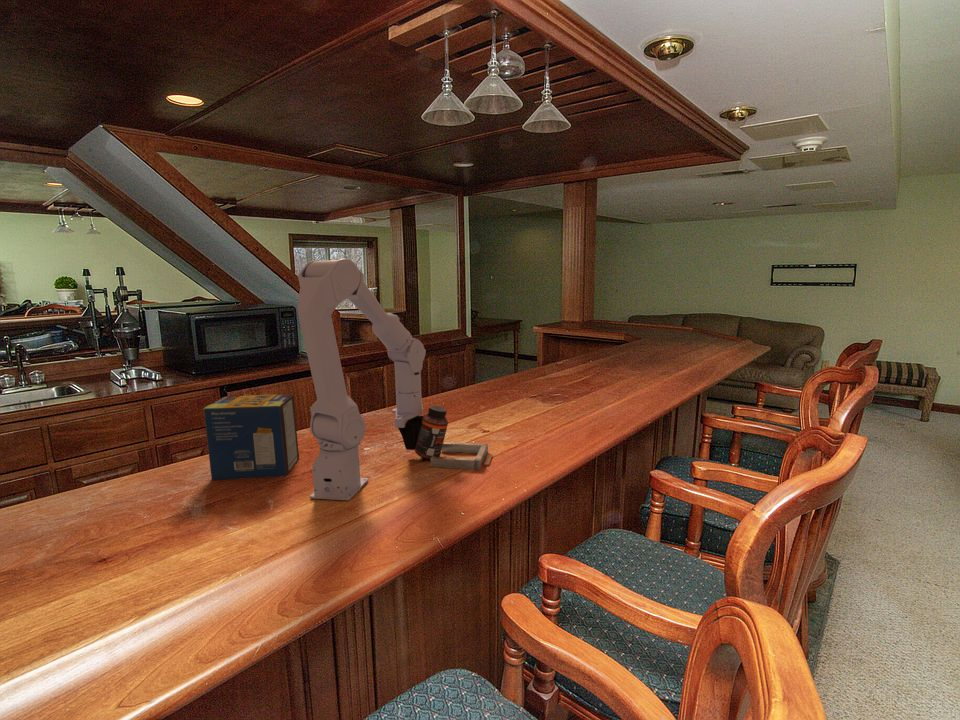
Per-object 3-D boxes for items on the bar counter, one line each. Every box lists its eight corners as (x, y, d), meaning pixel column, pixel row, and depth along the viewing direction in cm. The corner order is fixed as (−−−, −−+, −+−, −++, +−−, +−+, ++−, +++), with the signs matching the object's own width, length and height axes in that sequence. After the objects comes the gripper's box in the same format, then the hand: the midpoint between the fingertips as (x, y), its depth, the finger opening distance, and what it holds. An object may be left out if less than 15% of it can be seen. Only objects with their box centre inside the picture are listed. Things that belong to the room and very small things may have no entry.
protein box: (230, 462, 113) (223, 396, 110) (299, 458, 114) (294, 393, 111) (210, 481, 102) (201, 408, 100) (286, 476, 104) (280, 405, 101)
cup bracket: (486, 470, 105) (486, 461, 105) (430, 467, 107) (430, 458, 107) (494, 452, 116) (493, 444, 115) (442, 450, 118) (442, 442, 117)
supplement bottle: (435, 463, 109) (446, 415, 107) (410, 455, 110) (421, 407, 108) (442, 454, 115) (453, 408, 113) (419, 447, 116) (429, 401, 114)
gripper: (401, 383, 119) (404, 437, 121) (379, 398, 105) (383, 459, 107) (430, 384, 118) (432, 438, 120) (412, 399, 103) (414, 460, 106)
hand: (411, 448), depth 113 cm, fingers closed, pressing on supplement bottle
